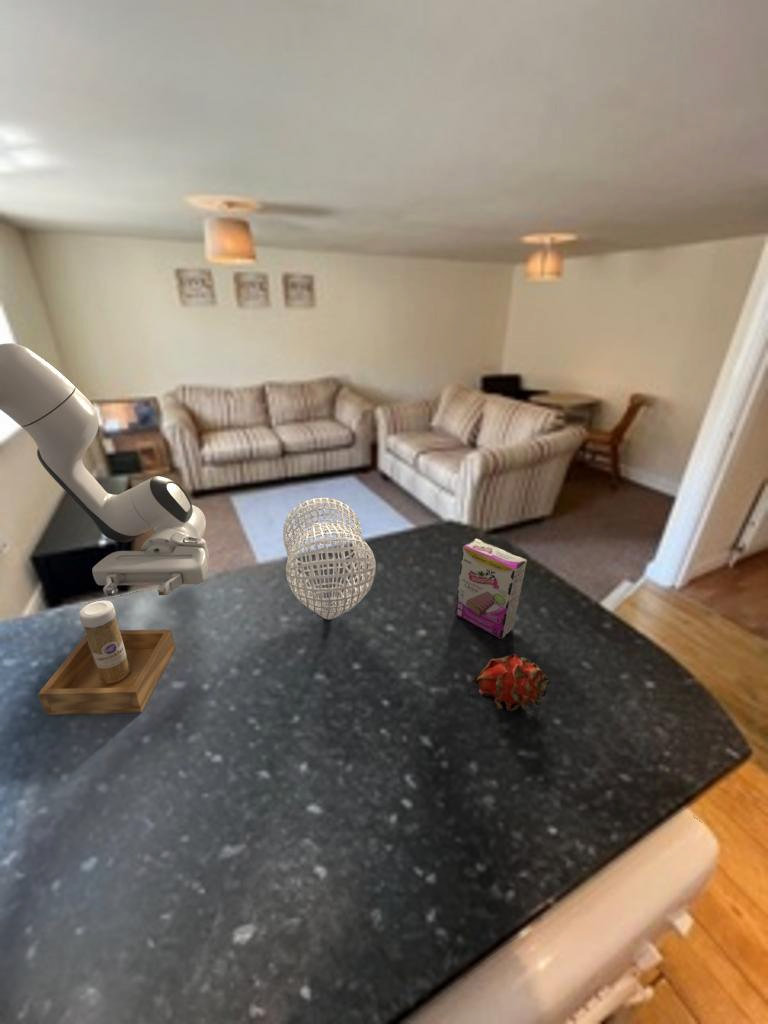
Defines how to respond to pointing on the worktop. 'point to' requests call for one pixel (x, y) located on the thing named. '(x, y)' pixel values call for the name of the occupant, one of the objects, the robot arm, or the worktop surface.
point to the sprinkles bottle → (105, 641)
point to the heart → (357, 546)
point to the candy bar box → (489, 587)
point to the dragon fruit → (512, 682)
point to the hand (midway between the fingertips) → (135, 592)
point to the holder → (86, 694)
